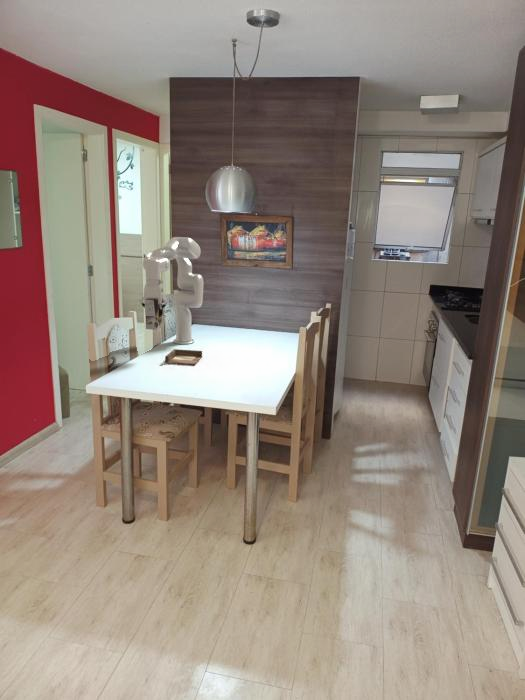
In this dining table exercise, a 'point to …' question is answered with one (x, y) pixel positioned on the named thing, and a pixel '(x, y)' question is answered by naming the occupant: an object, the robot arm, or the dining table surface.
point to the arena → (183, 357)
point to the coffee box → (153, 314)
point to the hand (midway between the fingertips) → (154, 315)
